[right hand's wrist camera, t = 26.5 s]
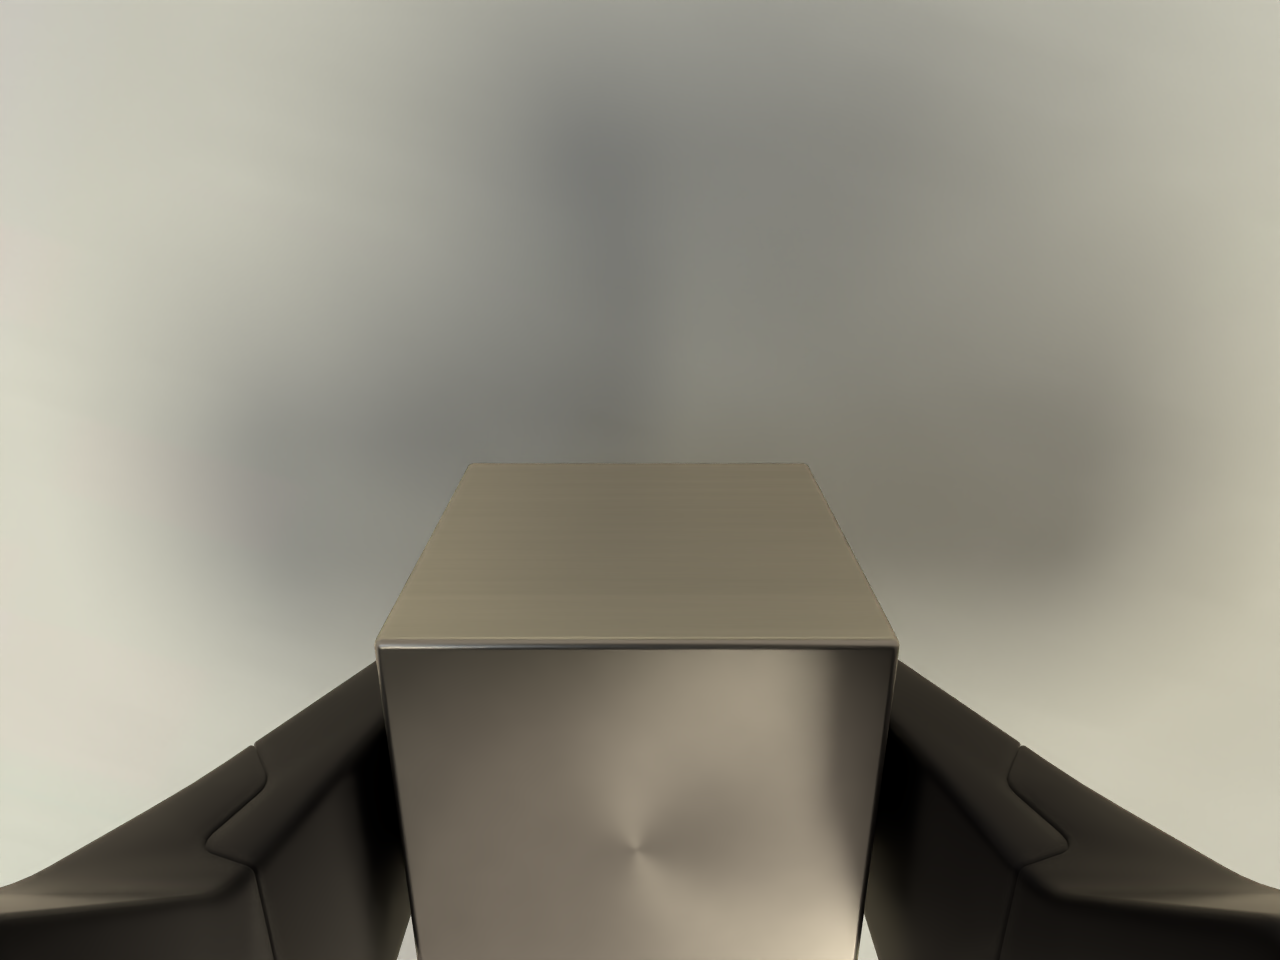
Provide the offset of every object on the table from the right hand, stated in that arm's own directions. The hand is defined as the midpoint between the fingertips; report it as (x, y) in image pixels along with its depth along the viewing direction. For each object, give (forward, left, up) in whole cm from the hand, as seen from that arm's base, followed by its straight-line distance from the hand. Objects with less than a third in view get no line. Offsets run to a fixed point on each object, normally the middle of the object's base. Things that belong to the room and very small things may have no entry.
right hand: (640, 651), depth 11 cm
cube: (0, 0, -1) cm, 1 cm away
